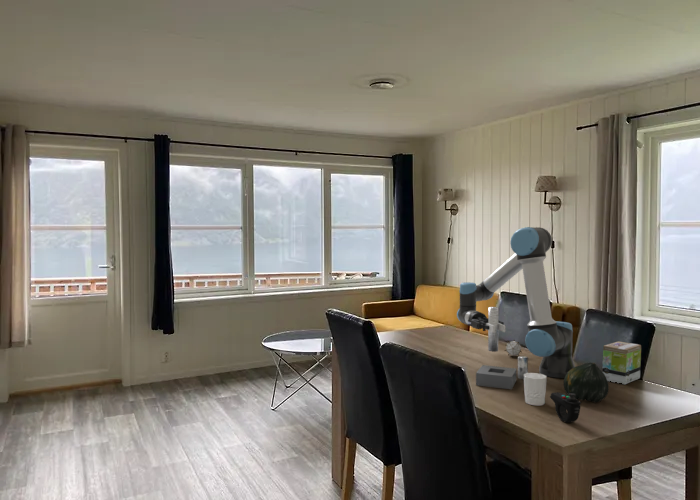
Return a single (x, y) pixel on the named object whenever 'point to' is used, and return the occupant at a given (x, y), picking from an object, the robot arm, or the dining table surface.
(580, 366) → the squash
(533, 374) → the white cup
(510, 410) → the dining table surface
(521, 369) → the short steel pin
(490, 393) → the dining table surface
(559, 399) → the controller
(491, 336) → the long steel pin
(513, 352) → the game die
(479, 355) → the dining table surface
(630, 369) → the tea box
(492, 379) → the charcoal collar block
